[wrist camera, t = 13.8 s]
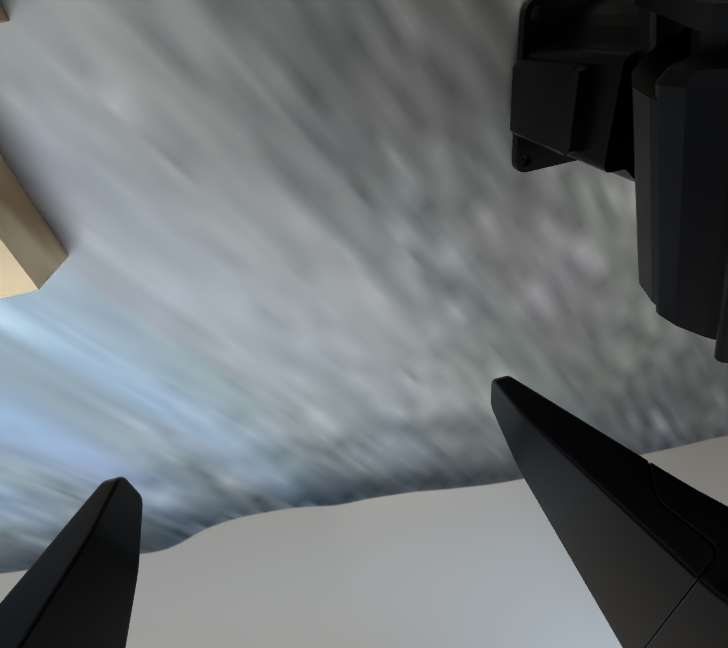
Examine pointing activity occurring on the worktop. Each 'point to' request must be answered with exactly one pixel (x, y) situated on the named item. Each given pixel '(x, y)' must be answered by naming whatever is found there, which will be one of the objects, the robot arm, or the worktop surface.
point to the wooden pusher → (23, 236)
